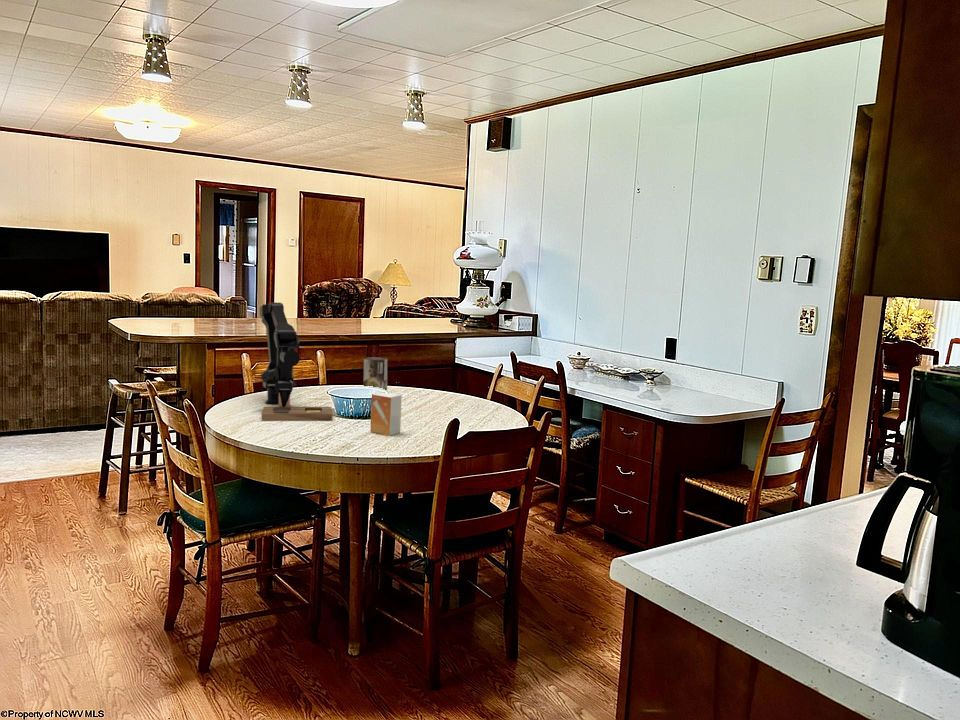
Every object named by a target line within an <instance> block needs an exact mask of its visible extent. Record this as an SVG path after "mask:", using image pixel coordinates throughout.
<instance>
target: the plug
mask: <svg viewBox="0 0 960 720" xmlns="http://www.w3.org/2000/svg"><path fill="white" fill-rule="evenodd" d="M278 407H282V403H281V398H280V393H279V404H278ZM285 407H291V396H290V397H289V399H288V402H287V404H286V406H285Z"/></svg>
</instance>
